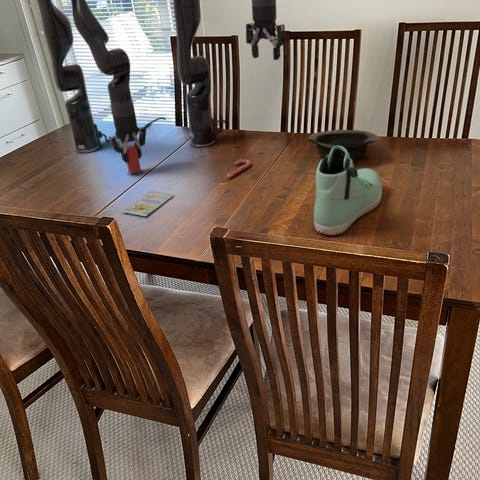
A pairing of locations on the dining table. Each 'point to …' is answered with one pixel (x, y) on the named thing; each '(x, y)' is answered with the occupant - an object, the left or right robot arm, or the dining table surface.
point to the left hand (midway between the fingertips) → (132, 159)
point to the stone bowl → (343, 141)
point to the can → (133, 159)
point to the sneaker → (343, 192)
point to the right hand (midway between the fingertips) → (266, 58)
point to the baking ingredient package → (147, 204)
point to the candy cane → (240, 167)
